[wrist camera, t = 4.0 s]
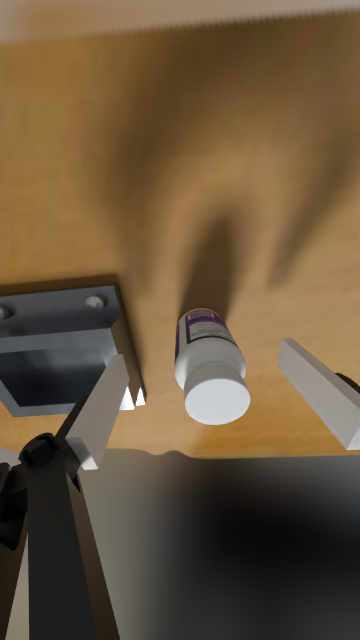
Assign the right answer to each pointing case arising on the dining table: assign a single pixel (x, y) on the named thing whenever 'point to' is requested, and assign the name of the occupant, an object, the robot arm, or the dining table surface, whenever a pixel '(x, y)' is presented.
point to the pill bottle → (210, 368)
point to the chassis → (62, 348)
